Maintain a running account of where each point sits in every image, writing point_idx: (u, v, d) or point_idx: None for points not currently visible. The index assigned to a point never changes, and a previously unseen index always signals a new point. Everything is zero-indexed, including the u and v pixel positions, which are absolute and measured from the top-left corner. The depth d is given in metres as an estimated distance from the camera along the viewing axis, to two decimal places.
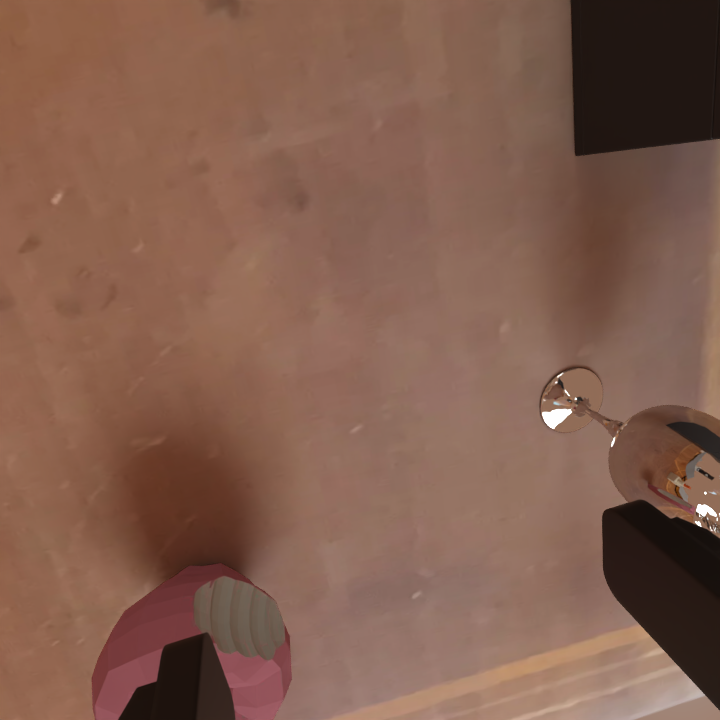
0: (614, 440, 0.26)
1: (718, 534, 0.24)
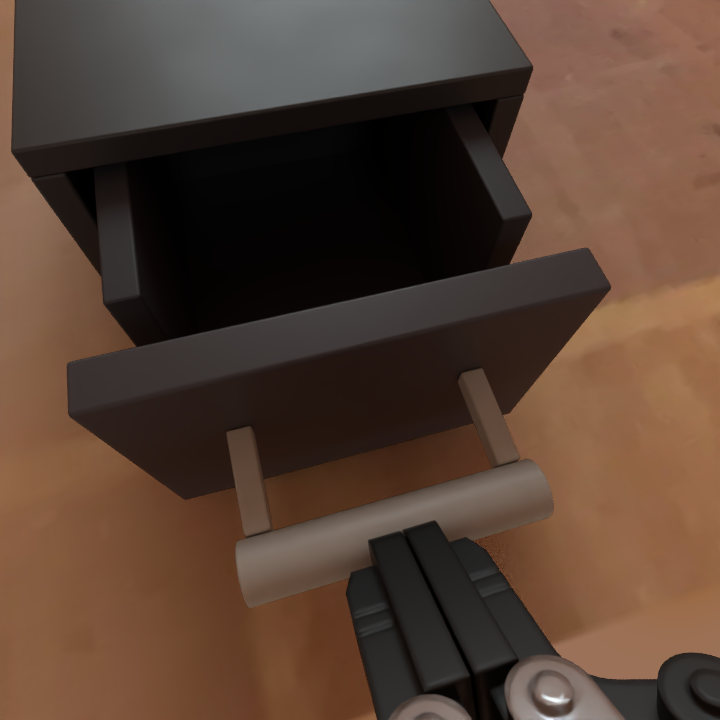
0: None
1: None
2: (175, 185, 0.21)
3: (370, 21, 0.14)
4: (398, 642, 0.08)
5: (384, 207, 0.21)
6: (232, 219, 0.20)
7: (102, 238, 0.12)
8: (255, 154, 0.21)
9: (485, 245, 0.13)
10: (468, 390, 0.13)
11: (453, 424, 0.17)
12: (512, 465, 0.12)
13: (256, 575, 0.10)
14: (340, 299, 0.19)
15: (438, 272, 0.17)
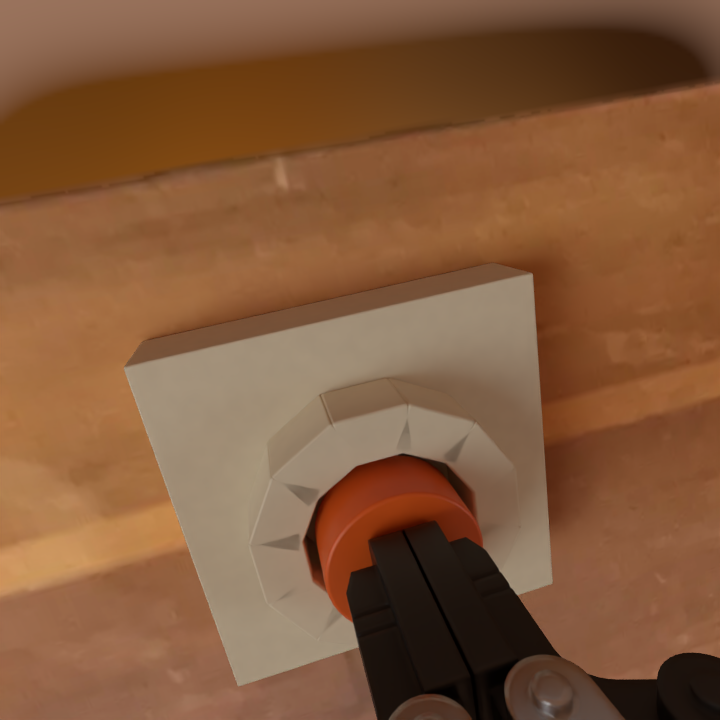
0: None
1: None
2: None
3: None
4: (398, 642, 0.08)
5: None
6: None
7: None
8: None
9: None
10: None
11: None
12: None
13: None
14: None
15: None
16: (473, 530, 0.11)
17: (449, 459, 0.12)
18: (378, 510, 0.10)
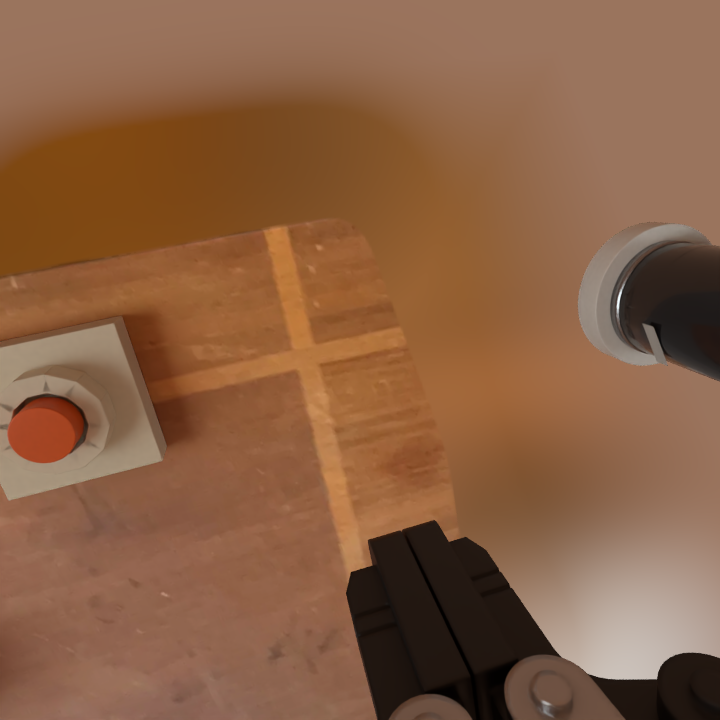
0: None
1: None
2: None
3: None
4: (398, 642, 0.08)
5: None
6: None
7: None
8: None
9: None
10: None
11: None
12: None
13: None
14: None
15: None
16: (67, 422, 0.30)
17: (67, 396, 0.31)
18: (23, 413, 0.29)
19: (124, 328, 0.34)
